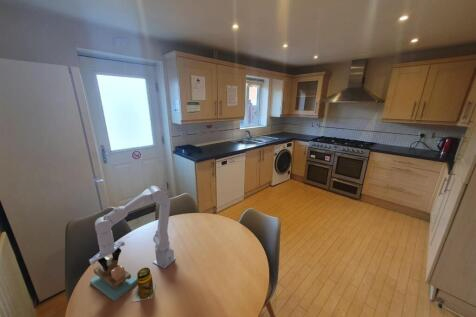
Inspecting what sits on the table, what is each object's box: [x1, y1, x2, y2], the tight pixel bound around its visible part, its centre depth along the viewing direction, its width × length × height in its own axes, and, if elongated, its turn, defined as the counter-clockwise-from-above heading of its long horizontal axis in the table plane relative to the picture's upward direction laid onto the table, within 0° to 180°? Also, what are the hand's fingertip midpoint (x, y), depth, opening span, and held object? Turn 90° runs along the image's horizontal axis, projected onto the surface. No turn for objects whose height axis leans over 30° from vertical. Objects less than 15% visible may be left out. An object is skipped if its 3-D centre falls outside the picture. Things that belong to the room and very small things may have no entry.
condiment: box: [132, 267, 157, 303], centre depth 86 cm, size 7×8×12 cm
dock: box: [89, 275, 138, 303], centre depth 92 cm, size 20×11×2 cm, turn 63°
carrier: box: [93, 256, 132, 289], centre depth 90 cm, size 18×7×8 cm, turn 63°
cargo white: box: [97, 256, 111, 272], centre depth 93 cm, size 4×4×4 cm
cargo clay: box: [111, 264, 126, 281], centre depth 88 cm, size 4×4×4 cm
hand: (110, 266), depth 90 cm, fingers closed on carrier, 4 cm apart
